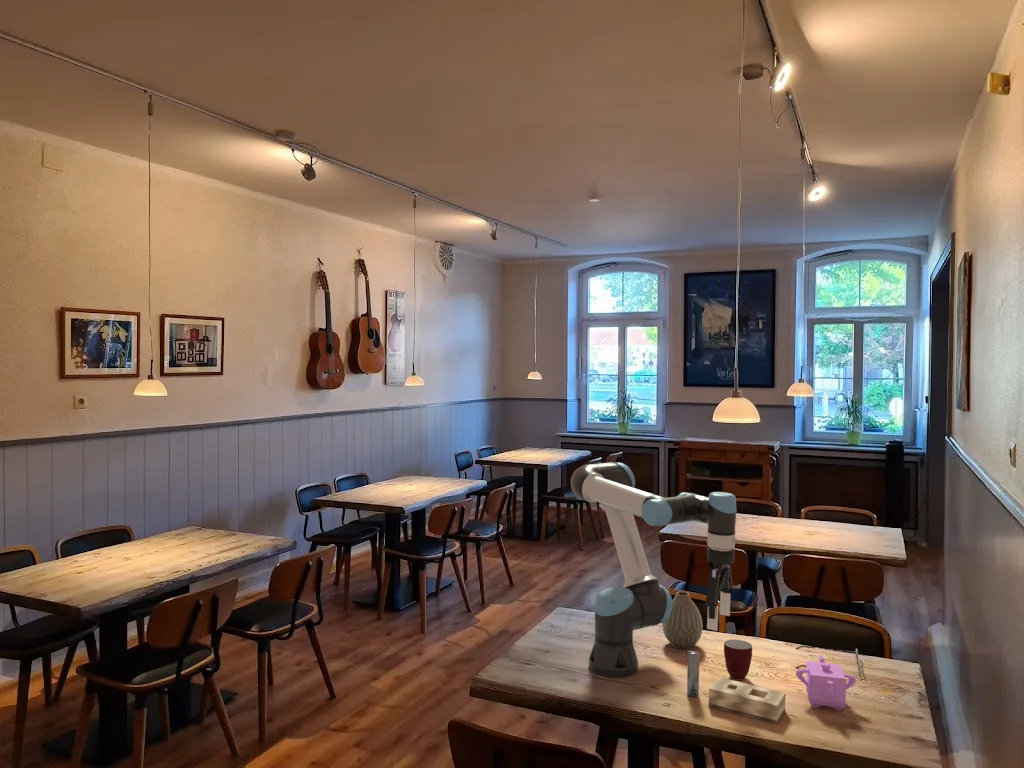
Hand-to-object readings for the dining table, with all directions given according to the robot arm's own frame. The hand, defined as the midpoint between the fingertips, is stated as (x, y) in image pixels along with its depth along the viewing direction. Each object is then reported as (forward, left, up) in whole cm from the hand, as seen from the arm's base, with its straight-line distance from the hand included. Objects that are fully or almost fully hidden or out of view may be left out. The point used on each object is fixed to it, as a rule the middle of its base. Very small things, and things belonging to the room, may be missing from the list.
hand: (718, 622), depth 206 cm
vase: (-21, +30, -21) cm, 42 cm away
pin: (-5, -5, -20) cm, 22 cm away
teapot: (+27, +11, -21) cm, 35 cm away
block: (+10, -5, -20) cm, 23 cm away
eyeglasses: (+22, +42, -21) cm, 51 cm away
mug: (+2, +13, -21) cm, 24 cm away
